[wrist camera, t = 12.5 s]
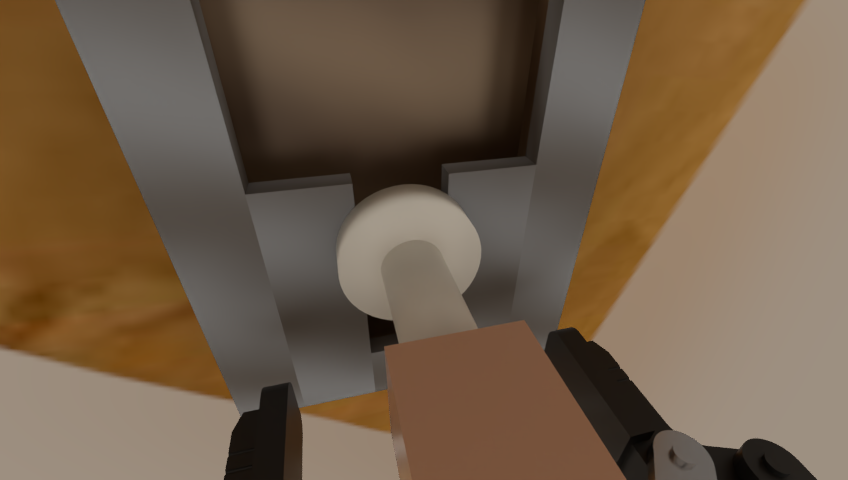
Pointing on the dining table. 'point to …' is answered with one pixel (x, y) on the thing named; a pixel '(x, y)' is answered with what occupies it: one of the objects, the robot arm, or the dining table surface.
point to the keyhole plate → (353, 155)
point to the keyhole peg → (458, 353)
